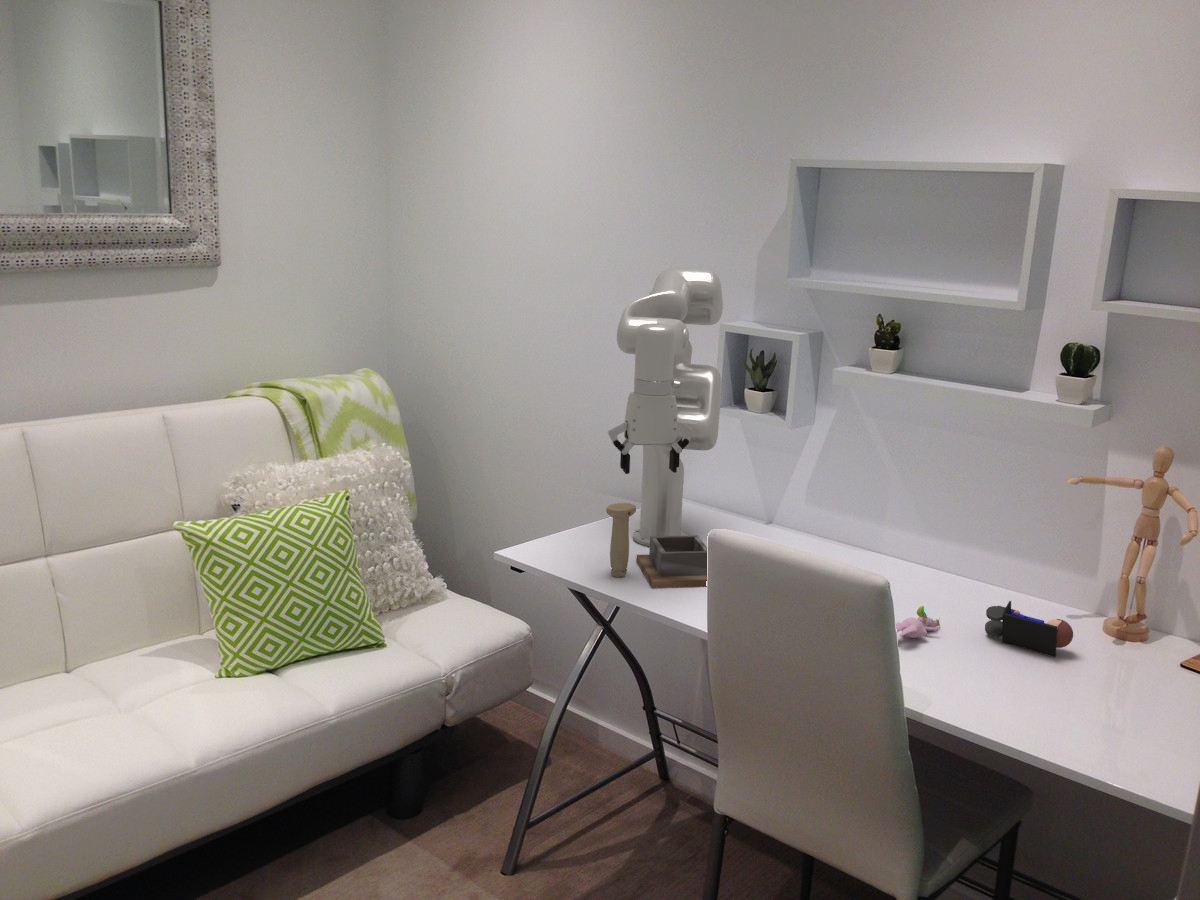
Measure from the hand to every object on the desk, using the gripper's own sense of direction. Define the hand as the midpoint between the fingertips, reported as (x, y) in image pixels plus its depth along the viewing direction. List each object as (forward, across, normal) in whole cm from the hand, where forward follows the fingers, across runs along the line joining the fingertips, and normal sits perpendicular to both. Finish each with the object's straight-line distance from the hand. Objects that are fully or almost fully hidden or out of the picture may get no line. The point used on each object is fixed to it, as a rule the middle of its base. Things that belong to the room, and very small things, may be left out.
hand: (649, 471), depth 207 cm
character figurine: (+24, -62, +38) cm, 77 cm away
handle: (+25, +4, -6) cm, 26 cm away
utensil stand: (+24, -9, -6) cm, 27 cm away
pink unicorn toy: (+24, -44, +31) cm, 59 cm away
